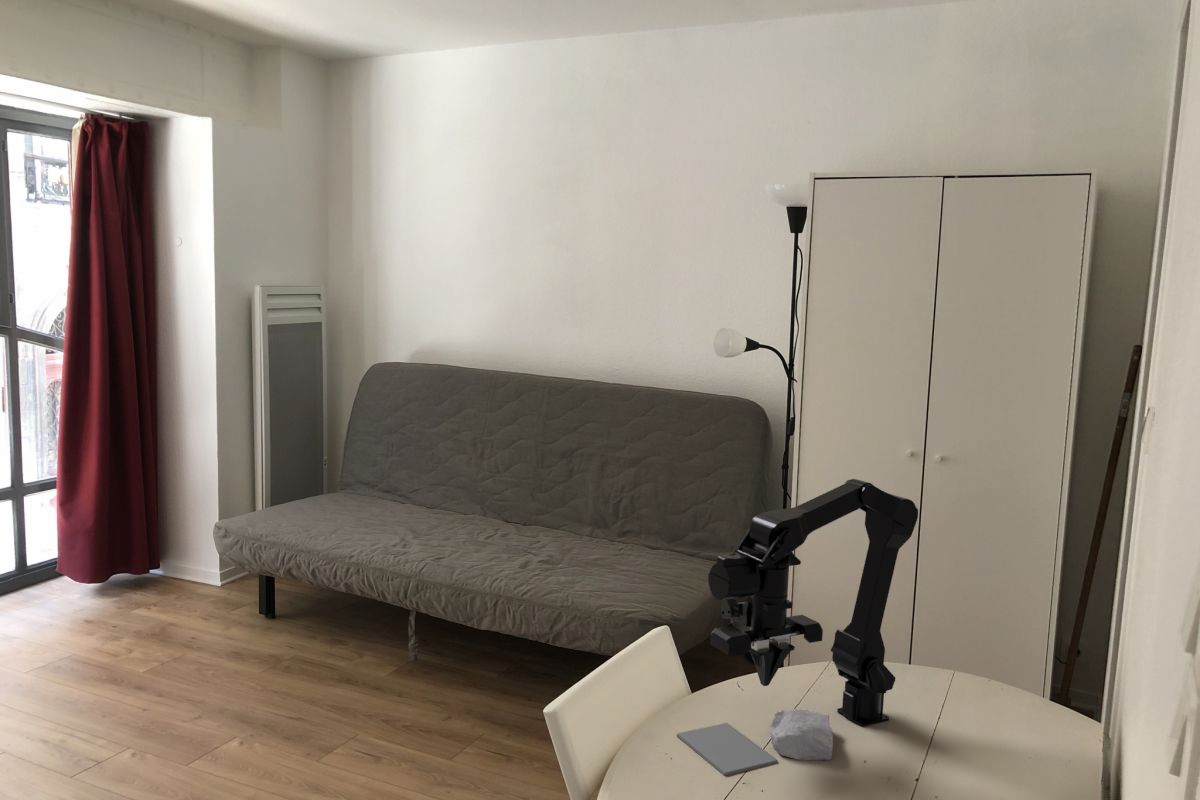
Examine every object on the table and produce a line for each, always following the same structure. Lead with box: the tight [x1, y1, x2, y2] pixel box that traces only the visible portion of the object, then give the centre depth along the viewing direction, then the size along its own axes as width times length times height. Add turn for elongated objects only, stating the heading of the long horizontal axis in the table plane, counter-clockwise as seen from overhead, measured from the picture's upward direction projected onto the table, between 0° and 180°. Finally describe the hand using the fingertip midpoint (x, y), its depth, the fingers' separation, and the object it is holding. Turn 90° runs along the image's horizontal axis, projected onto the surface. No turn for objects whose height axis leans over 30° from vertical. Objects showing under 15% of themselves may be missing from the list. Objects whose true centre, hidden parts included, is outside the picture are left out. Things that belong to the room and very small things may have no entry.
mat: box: [676, 722, 778, 777], centre depth 153 cm, size 10×14×1 cm
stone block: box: [769, 708, 834, 762], centre depth 156 cm, size 12×5×10 cm
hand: (764, 684), depth 155 cm, fingers closed
